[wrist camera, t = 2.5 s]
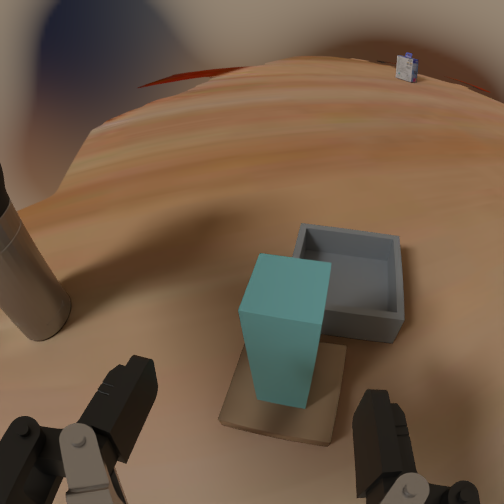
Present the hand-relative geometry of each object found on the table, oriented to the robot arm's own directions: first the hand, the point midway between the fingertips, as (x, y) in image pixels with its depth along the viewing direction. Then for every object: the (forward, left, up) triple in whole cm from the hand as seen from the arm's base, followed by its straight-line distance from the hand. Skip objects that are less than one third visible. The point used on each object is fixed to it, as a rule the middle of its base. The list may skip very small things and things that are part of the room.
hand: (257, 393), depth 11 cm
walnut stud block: (0, +7, -18) cm, 20 cm away
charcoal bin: (+4, +21, -18) cm, 28 cm away
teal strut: (0, +7, -16) cm, 18 cm away
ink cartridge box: (+32, +155, -19) cm, 160 cm away
